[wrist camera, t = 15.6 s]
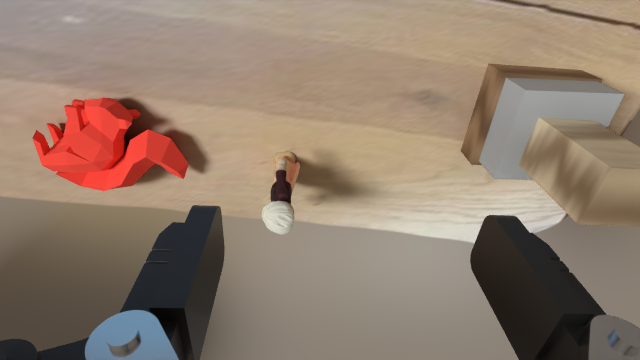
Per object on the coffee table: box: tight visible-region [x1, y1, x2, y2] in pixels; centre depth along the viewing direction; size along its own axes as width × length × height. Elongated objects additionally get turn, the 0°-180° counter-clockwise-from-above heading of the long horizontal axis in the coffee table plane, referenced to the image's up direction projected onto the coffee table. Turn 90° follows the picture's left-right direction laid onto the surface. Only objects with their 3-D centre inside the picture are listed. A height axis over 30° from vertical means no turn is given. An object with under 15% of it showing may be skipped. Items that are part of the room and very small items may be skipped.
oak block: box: [518, 117, 640, 227], centre depth 34 cm, size 6×6×10 cm
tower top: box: [479, 78, 625, 180], centre depth 39 cm, size 10×10×4 cm
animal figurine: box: [33, 98, 188, 191], centre depth 42 cm, size 12×15×5 cm
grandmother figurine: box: [262, 152, 300, 234], centre depth 41 cm, size 8×4×13 cm, turn 5°
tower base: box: [461, 64, 602, 165], centre depth 43 cm, size 11×11×4 cm
